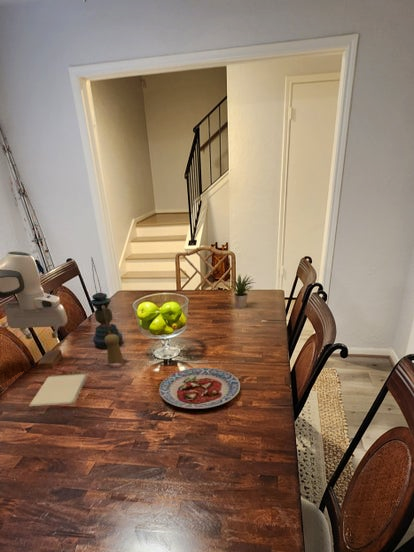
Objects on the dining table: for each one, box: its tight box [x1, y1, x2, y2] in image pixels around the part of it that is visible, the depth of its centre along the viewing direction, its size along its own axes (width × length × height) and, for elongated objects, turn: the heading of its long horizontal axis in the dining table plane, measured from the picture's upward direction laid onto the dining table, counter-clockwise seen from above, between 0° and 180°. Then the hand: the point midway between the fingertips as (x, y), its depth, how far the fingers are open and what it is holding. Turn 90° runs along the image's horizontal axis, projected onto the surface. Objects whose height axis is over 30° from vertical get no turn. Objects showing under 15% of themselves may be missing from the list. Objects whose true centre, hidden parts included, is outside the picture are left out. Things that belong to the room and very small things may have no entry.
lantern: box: [90, 256, 123, 350], centre depth 147 cm, size 14×12×35 cm
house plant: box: [229, 274, 256, 309], centre depth 187 cm, size 14×14×16 cm
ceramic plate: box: [158, 367, 241, 410], centre depth 118 cm, size 26×26×3 cm
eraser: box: [37, 349, 64, 370], centre depth 141 cm, size 5×12×4 cm, turn 3°
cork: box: [105, 334, 125, 365], centre depth 138 cm, size 6×6×11 cm
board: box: [28, 373, 89, 407], centre depth 123 cm, size 14×20×1 cm
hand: (42, 337), depth 136 cm, fingers open, 8 cm apart
